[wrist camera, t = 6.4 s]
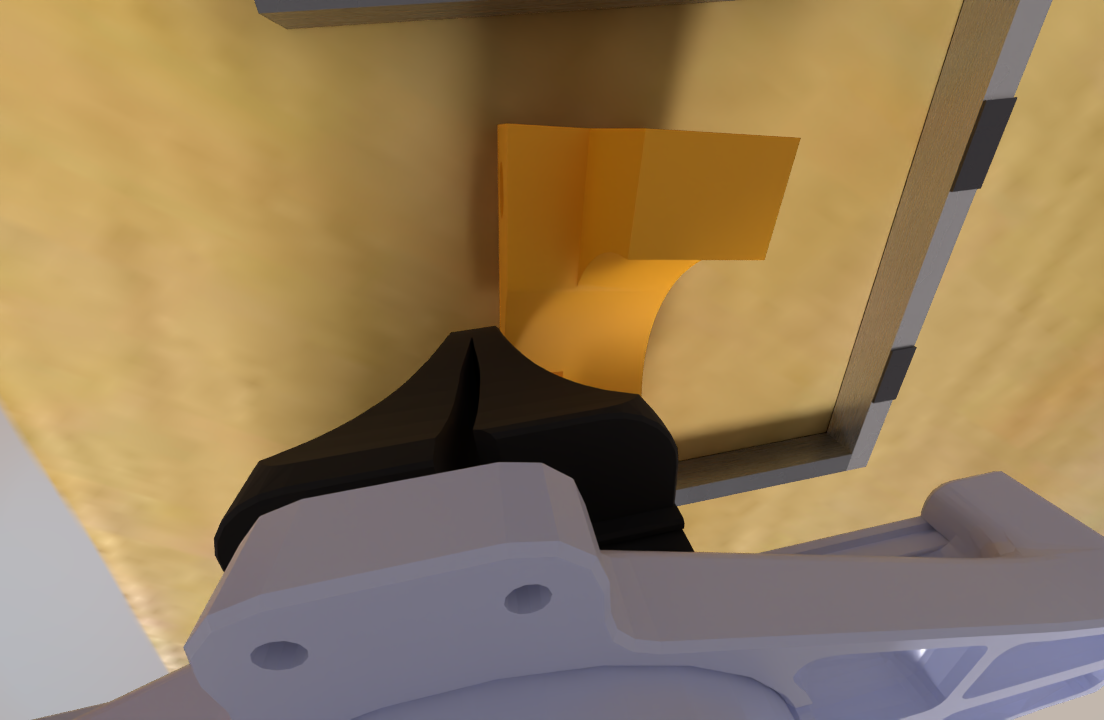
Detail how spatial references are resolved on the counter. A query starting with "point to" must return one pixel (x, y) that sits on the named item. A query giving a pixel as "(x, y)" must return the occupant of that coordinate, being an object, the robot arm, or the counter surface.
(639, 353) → the pipe clamp
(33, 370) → the counter surface
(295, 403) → the counter surface
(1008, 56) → the frame
